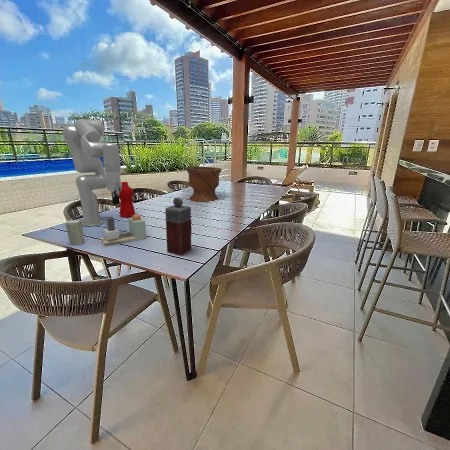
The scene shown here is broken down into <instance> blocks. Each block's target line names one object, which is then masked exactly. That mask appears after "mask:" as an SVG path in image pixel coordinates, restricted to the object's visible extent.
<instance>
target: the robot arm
mask: <svg viewBox="0 0 450 450" xmlns="http://www.w3.org/2000/svg"><path fill="white" fill-rule="evenodd" d="M104 133H105V129H104V125H103V124H102V122H101V121H99V120H97V119H86V118H80V119H77V120H76V121H75V122H74V125H68V126H67V125H66V126H64V127H63V129H62V135H63V140H64V142H65V143H66V146H67V148H68V149H69V151H70V155H71V158H72V162H73V165H74V169H75V172H77V173H80V174H82V175H78V176H77V177H76V179H75V183H76V188H77V190H78V194H79V199H80V204H81V211H82V217H83V219H82V220H83V221H81V223H82V227H97V226H100V225H102V224H103V223H104V220H102V219H101V217H100V209H99V202H98V201H99V200H98V196H97V194H96V193H95V192H93V191H95V190H103V189H107V191H109V192H110V193H111V200H112V205H119V204H121V202H120V199H119V194H120V193H119V191H121V186H122V185H121V182H122V181H121V175H120V173H121V171H122V170H121V161H120V158H121V157H120V150H119V149H120V148H119V145H118V144H117V143H112V142H106V141H104V142H103V141H100V140H101V137H102V136H103V135H104ZM101 158H102V160H101ZM87 173H89V174H87ZM90 173H92V174H90ZM94 173H95V174H94Z"/></svg>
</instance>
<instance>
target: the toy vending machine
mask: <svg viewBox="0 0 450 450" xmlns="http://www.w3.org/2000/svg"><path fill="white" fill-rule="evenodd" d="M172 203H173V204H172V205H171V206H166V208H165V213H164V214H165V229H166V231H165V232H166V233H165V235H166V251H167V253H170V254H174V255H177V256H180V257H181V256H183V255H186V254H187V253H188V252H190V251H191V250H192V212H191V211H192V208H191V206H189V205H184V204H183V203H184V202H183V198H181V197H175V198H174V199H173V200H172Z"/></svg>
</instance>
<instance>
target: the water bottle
mask: <svg viewBox="0 0 450 450" xmlns="http://www.w3.org/2000/svg"><path fill="white" fill-rule="evenodd" d="M119 193H120V194H119V200H120V207H119V216H120V217H121V218H127V219H129V218H132V215H136V211H135V207H134V204H133V199H134V197H135V196H134V191H133V188H132V186H130V185H129V182H128V181H121V191H119Z"/></svg>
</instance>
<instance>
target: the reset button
mask: <svg viewBox="0 0 450 450" xmlns="http://www.w3.org/2000/svg"><path fill="white" fill-rule="evenodd" d="M131 218H132V220H133V221H137V220H141V218H142V217H141V215H139V214H135V215H132V217H131Z"/></svg>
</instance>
